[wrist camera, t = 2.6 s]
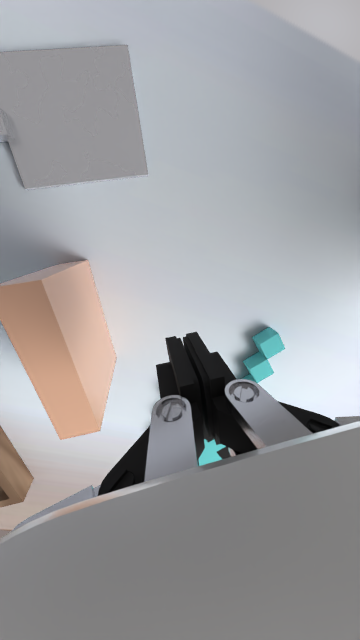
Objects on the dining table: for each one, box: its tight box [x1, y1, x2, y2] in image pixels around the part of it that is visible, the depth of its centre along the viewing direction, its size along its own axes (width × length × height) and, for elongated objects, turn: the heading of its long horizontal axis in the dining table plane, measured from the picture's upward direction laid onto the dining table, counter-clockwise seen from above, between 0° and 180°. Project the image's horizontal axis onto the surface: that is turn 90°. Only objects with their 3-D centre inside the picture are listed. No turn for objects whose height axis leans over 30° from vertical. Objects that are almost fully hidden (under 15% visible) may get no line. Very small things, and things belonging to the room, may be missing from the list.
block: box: [0, 260, 116, 440], centre depth 16 cm, size 3×10×9 cm, turn 7°
